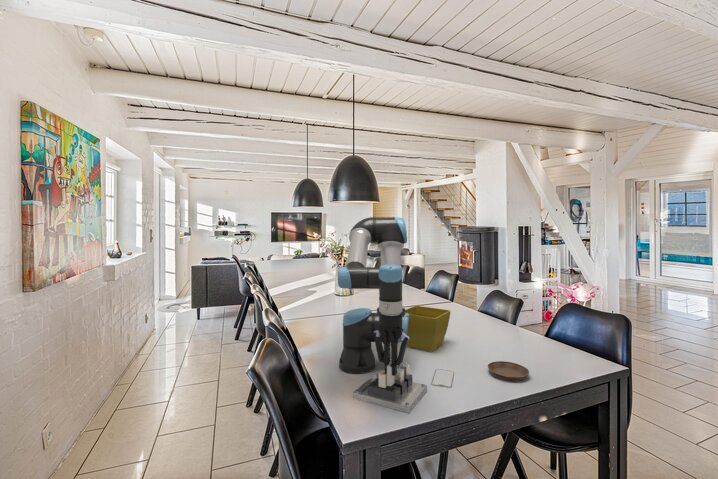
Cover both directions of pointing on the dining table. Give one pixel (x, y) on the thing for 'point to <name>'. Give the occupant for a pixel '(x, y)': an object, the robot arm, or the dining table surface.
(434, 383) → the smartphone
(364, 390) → the panel
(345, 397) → the dining table surface
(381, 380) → the block with orange pad
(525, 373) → the saucer
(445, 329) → the flower pot
